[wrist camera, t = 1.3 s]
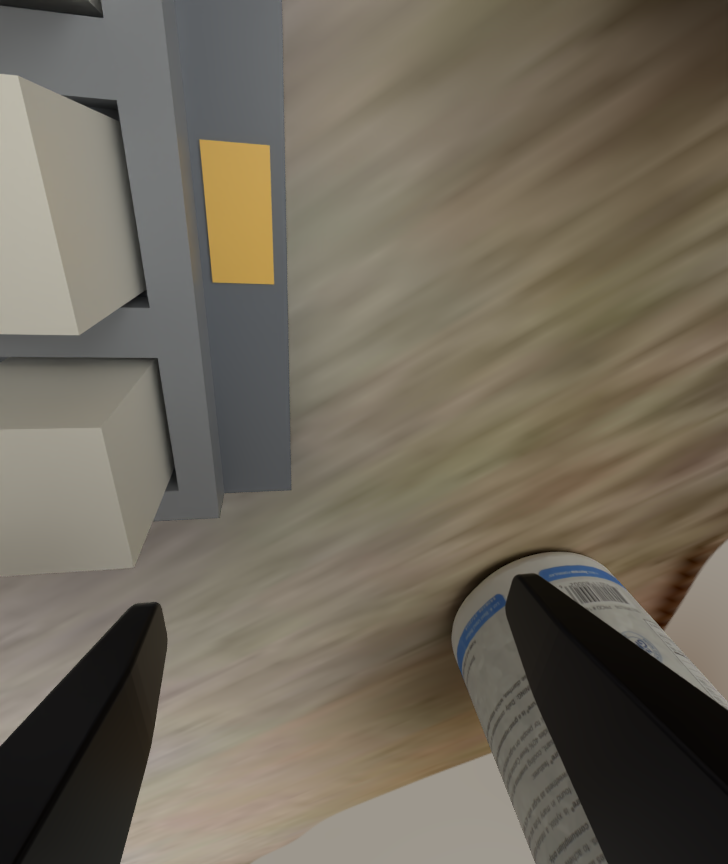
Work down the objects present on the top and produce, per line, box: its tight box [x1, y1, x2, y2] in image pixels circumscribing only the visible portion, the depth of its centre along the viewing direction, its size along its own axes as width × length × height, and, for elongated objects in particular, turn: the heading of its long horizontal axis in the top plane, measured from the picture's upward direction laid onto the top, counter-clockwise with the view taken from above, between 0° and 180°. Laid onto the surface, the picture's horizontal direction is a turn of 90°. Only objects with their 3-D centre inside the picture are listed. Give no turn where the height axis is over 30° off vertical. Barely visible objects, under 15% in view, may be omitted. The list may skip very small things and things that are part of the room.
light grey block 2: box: [0, 357, 175, 577], centre depth 12 cm, size 4×4×5 cm
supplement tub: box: [451, 552, 728, 864], centre depth 19 cm, size 10×10×15 cm
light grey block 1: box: [0, 74, 147, 335], centre depth 10 cm, size 4×4×5 cm
